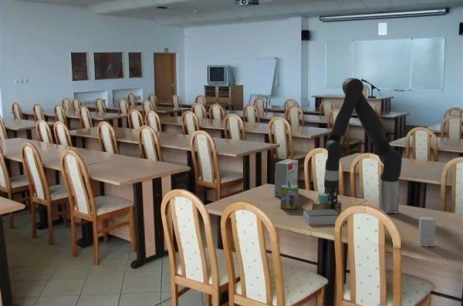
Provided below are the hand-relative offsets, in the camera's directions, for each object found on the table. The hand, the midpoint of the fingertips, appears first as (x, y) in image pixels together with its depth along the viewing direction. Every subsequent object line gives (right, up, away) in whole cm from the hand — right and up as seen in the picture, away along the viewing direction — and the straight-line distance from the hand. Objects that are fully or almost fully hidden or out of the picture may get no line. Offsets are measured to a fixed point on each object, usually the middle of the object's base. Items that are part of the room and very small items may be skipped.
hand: (330, 208), depth 263 cm
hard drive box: (-19, +4, +36) cm, 41 cm away
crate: (-4, +4, -1) cm, 5 cm away
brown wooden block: (-2, -2, 0) cm, 3 cm away
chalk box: (-20, 0, +10) cm, 23 cm away
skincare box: (+32, -11, -46) cm, 57 cm away
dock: (-7, -5, -14) cm, 16 cm away
